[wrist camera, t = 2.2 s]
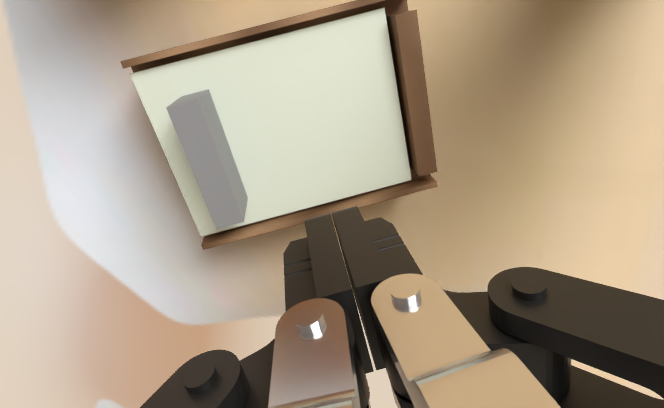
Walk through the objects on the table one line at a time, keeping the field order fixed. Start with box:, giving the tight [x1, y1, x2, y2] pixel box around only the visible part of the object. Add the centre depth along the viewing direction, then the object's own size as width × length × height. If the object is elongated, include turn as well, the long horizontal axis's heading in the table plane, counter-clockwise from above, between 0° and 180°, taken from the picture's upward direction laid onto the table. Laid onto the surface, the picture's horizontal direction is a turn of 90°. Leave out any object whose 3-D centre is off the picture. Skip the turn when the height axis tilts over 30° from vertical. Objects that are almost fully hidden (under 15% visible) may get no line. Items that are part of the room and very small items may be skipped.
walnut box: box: [121, 0, 437, 250], centre depth 26 cm, size 16×12×6 cm
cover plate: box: [130, 8, 412, 237], centre depth 23 cm, size 14×11×4 cm
